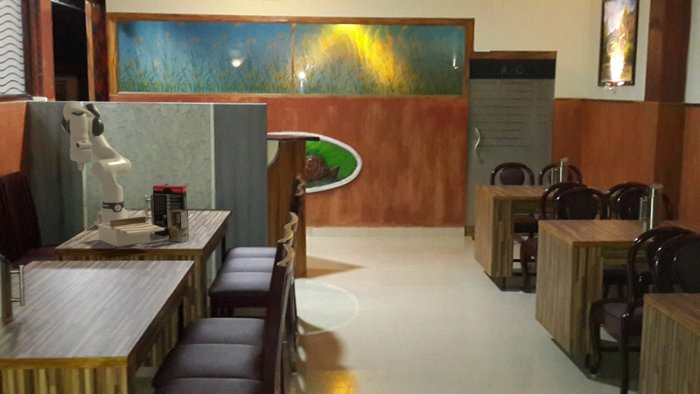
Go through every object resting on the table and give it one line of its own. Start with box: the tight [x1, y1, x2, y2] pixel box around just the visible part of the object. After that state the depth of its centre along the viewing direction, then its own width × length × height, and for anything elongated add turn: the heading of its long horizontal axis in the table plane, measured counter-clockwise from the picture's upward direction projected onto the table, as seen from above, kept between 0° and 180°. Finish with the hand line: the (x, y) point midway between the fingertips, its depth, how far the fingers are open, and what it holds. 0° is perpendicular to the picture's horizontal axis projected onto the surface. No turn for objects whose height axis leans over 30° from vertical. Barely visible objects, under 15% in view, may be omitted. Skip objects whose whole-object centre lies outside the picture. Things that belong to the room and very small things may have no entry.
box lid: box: [110, 215, 165, 235], centre depth 369 cm, size 22×18×4 cm
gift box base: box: [97, 223, 151, 247], centre depth 382 cm, size 22×18×9 cm
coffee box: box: [167, 209, 190, 243], centre depth 385 cm, size 9×6×16 cm
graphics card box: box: [152, 184, 188, 236], centre depth 399 cm, size 17×7×27 cm, turn 84°
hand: (81, 170), depth 378 cm, fingers closed
